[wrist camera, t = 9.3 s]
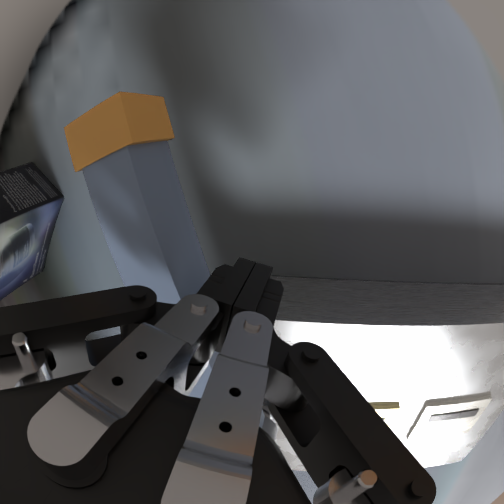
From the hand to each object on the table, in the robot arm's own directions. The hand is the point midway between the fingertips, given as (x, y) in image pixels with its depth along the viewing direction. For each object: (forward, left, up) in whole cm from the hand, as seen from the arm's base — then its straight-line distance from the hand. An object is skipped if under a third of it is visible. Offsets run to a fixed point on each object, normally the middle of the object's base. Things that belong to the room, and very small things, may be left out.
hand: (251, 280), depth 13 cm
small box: (-24, +1, -7) cm, 25 cm away
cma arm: (-3, -3, -1) cm, 4 cm away
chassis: (+9, -12, -7) cm, 17 cm away
